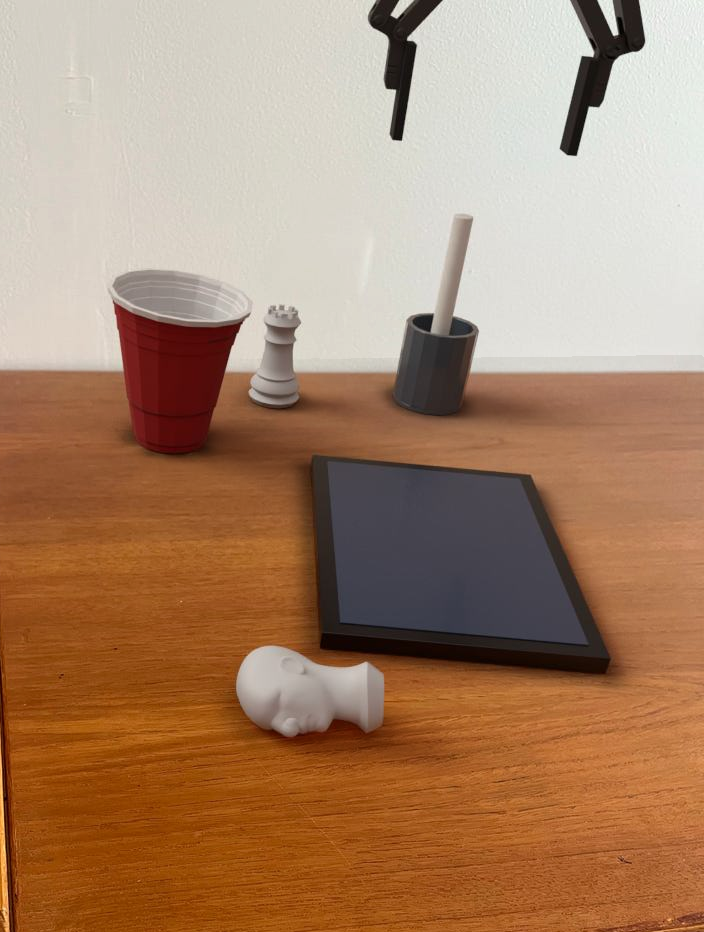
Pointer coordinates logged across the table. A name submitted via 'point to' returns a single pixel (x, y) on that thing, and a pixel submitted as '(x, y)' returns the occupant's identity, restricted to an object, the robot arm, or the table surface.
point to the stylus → (451, 273)
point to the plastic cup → (174, 351)
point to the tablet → (445, 567)
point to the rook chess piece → (277, 361)
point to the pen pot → (434, 365)
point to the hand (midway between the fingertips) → (481, 145)
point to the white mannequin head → (307, 692)
